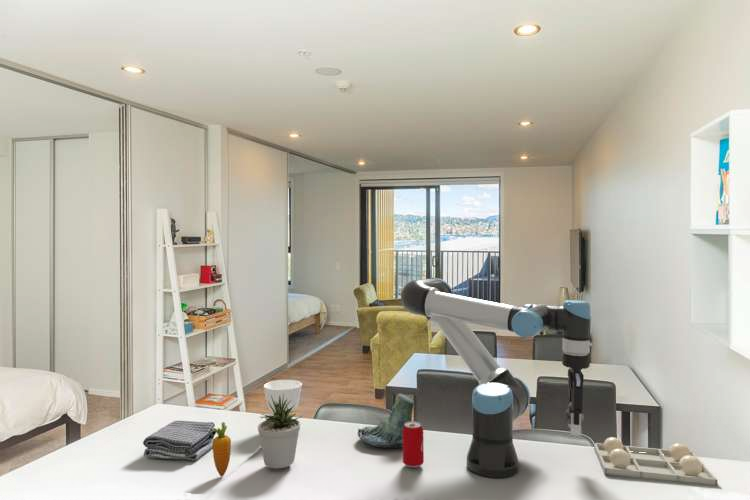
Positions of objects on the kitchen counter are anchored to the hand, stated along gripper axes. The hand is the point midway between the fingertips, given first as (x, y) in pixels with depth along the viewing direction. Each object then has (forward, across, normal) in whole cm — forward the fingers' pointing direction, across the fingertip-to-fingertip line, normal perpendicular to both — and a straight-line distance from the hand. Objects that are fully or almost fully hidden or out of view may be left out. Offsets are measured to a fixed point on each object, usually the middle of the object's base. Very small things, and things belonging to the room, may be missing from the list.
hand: (574, 430), depth 146 cm
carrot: (+12, -33, +97) cm, 104 cm away
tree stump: (+14, +6, +60) cm, 62 cm away
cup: (+13, +6, +97) cm, 98 cm away
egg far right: (+9, +10, -31) cm, 34 cm away
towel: (+13, -20, +120) cm, 122 cm away
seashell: (+1, 0, 0) cm, 1 cm away
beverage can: (+11, -11, +46) cm, 49 cm away
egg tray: (+10, +5, -22) cm, 24 cm away
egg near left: (+10, +1, -13) cm, 16 cm away
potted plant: (+12, -20, +85) cm, 88 cm away
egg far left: (+10, +10, -13) cm, 19 cm away
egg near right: (+9, +1, -31) cm, 32 cm away
